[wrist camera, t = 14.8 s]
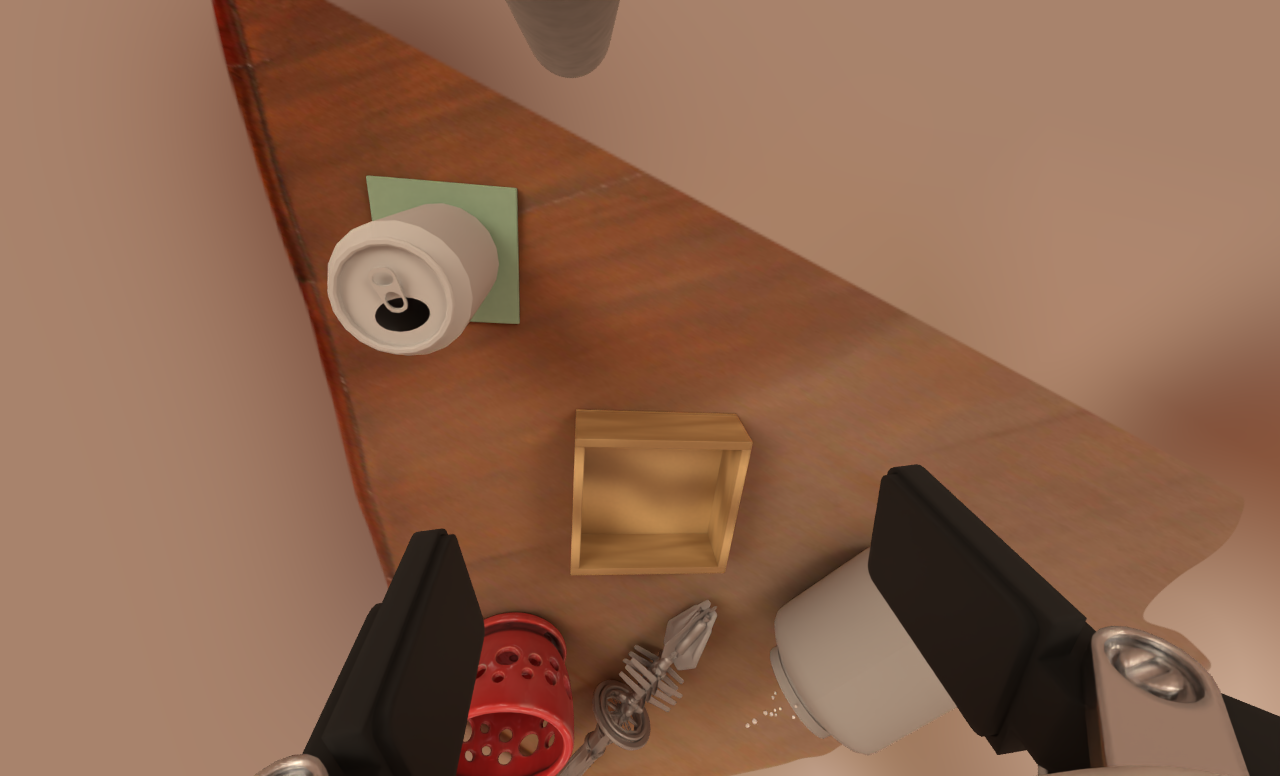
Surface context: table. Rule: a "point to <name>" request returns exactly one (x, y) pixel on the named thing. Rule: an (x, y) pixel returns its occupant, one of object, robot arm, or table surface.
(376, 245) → the can
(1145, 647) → the robot arm
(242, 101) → the table surface
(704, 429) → the wooden box
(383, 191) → the mat
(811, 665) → the jar
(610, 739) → the spaceship
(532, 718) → the flower pot
